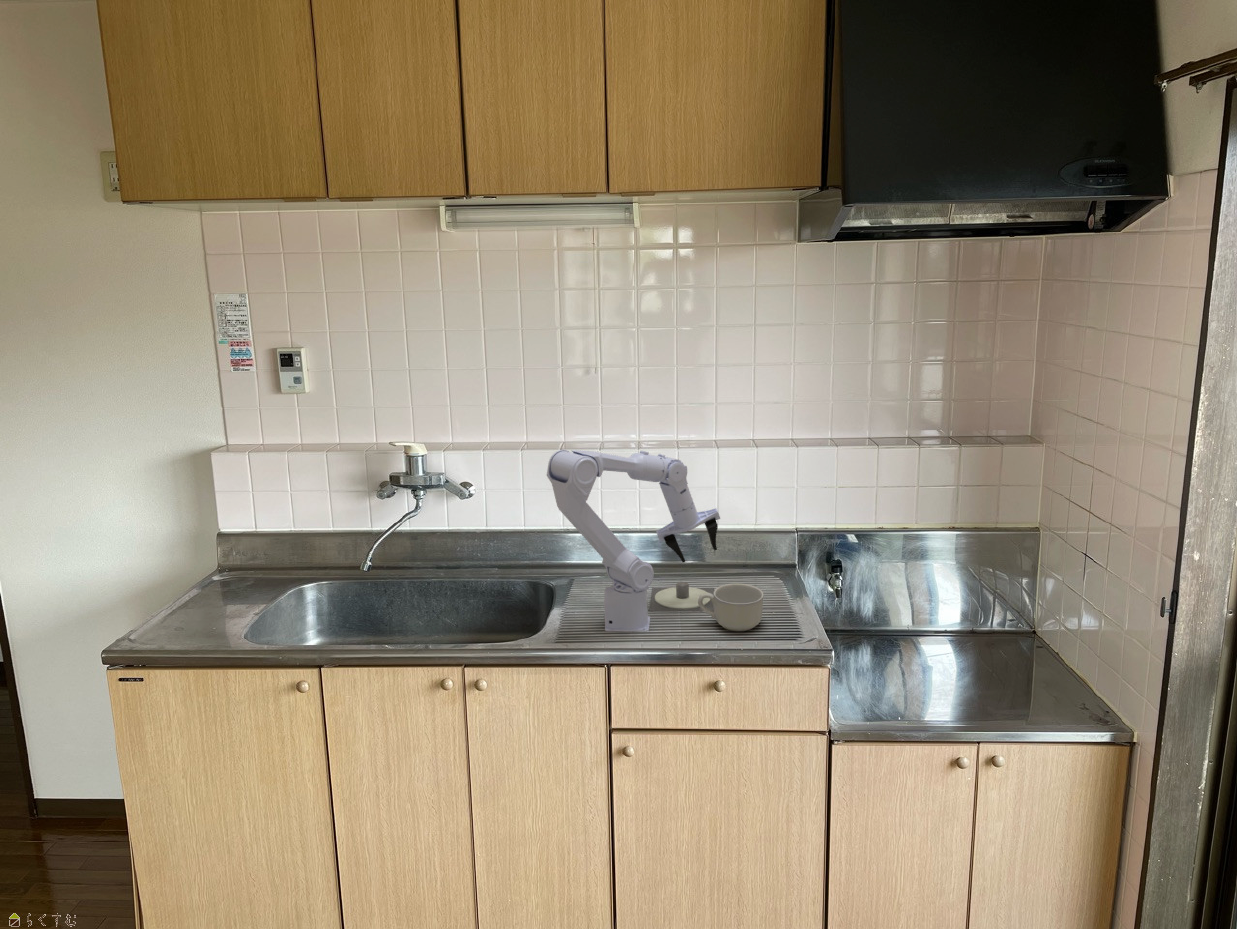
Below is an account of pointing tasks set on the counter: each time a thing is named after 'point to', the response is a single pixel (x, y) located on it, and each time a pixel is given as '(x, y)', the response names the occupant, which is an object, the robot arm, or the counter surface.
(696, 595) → the lid
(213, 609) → the counter surface
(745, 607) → the teacup
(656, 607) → the mat
